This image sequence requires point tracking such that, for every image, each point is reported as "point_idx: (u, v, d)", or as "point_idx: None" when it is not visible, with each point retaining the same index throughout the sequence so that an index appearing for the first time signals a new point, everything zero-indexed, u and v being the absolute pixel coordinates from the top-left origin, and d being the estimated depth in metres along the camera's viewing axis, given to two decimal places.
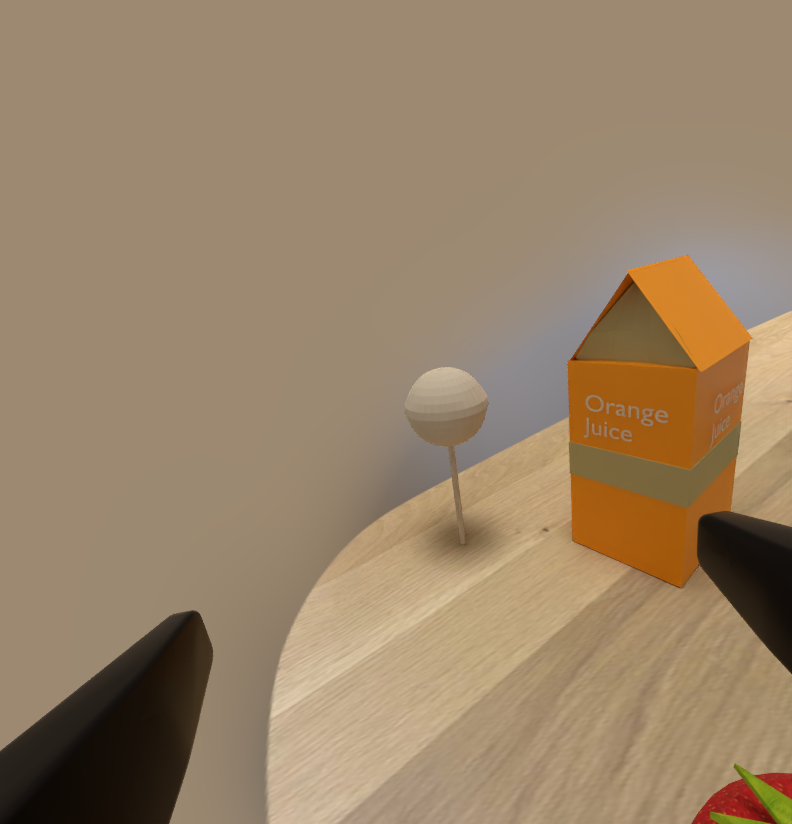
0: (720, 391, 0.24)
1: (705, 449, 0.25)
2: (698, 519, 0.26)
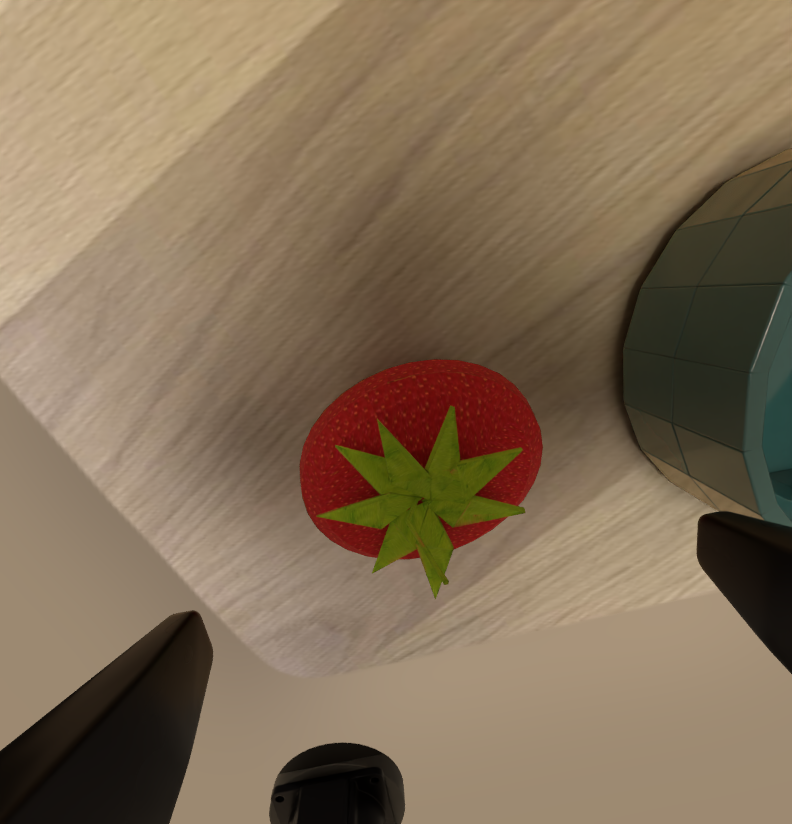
0: None
1: None
2: None
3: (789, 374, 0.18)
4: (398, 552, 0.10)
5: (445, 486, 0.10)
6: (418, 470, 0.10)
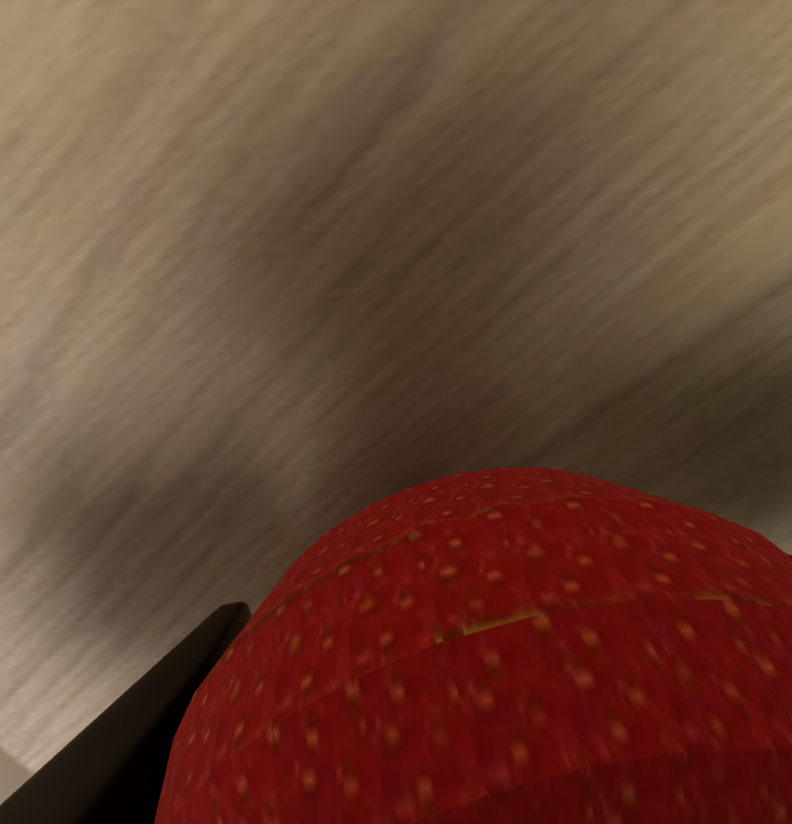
0: None
1: None
2: None
3: None
4: None
5: None
6: None
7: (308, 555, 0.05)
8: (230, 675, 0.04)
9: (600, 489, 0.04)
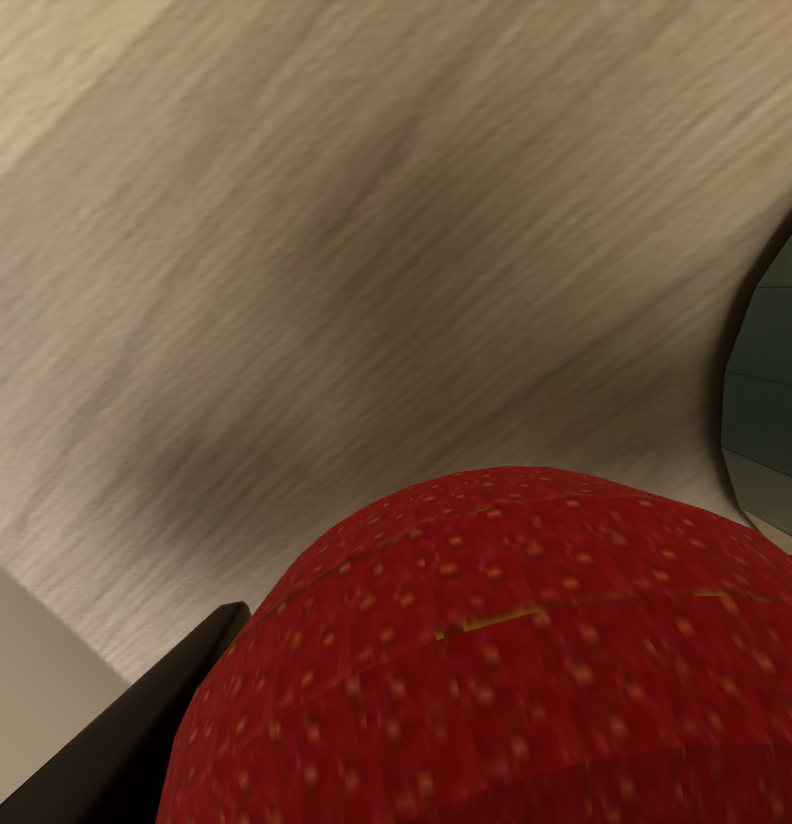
0: None
1: None
2: None
3: None
4: None
5: None
6: None
7: (309, 553, 0.05)
8: (232, 672, 0.04)
9: (600, 488, 0.04)
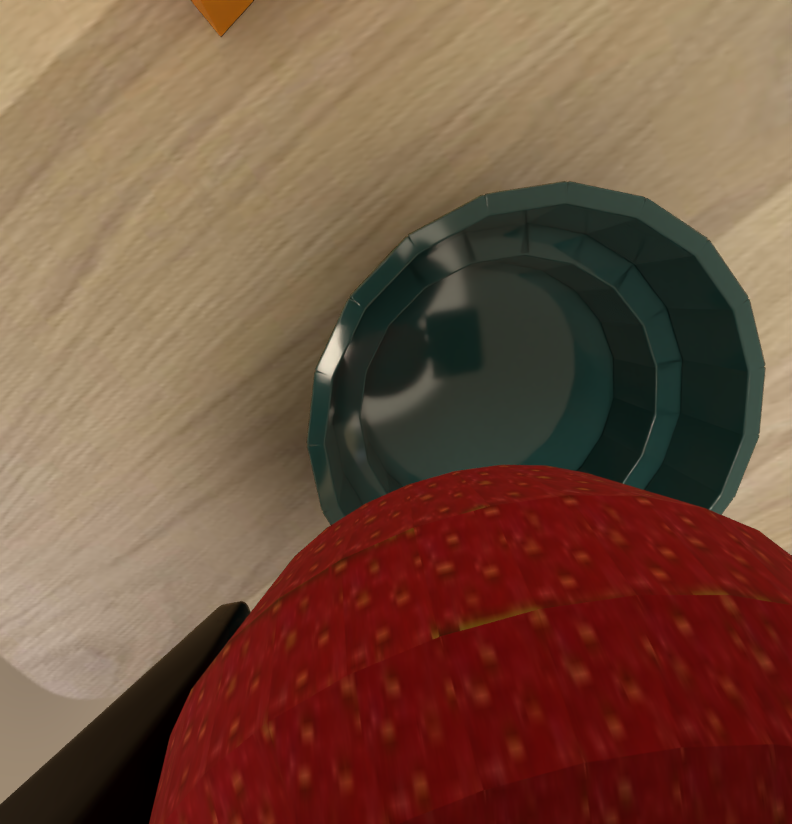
0: None
1: None
2: None
3: (490, 425, 0.19)
4: None
5: None
6: None
7: (306, 552, 0.05)
8: (226, 672, 0.04)
9: (598, 486, 0.04)
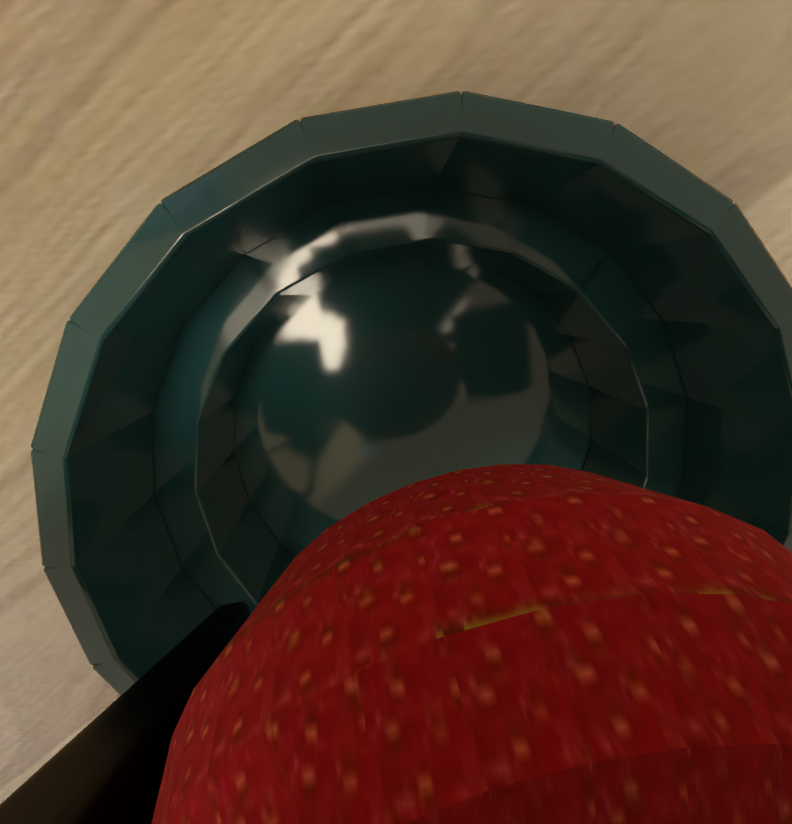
0: None
1: None
2: None
3: (419, 480, 0.14)
4: None
5: None
6: None
7: (308, 552, 0.05)
8: (229, 672, 0.04)
9: (601, 485, 0.04)
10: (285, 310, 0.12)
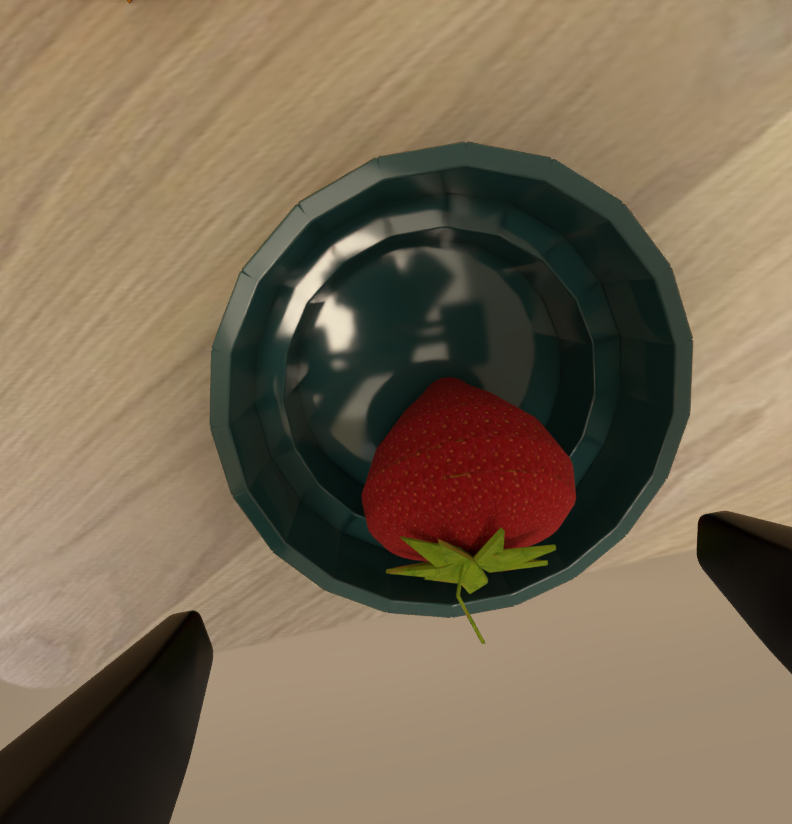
0: None
1: None
2: None
3: None
4: (445, 579, 0.14)
5: (487, 560, 0.13)
6: (468, 559, 0.12)
7: (399, 436, 0.14)
8: (386, 477, 0.13)
9: (502, 429, 0.13)
10: (338, 280, 0.17)
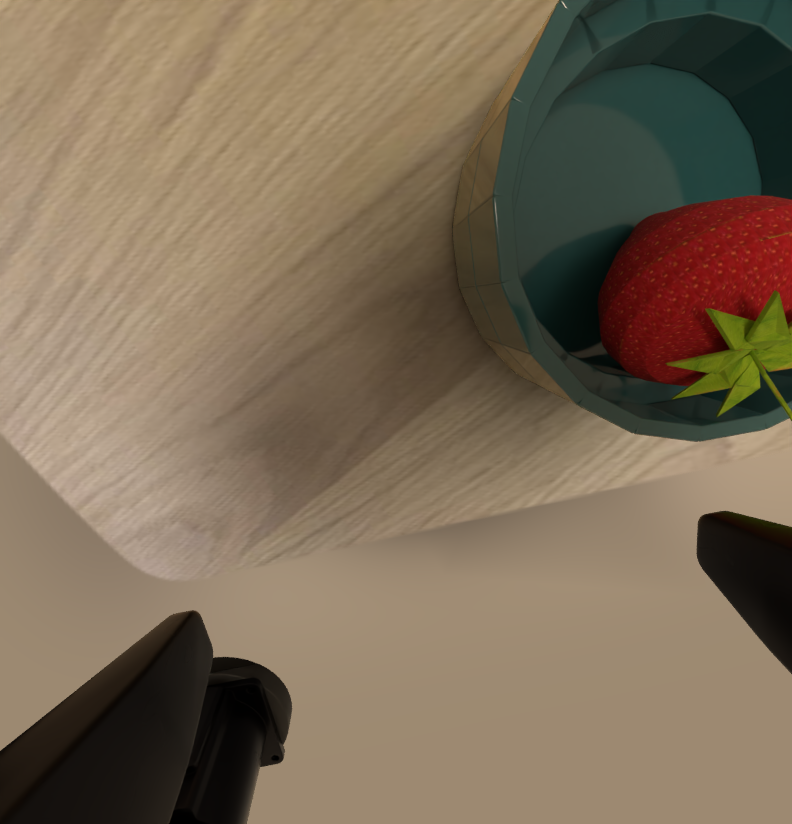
0: None
1: None
2: None
3: None
4: (710, 388, 0.13)
5: (789, 343, 0.12)
6: (780, 333, 0.11)
7: (664, 233, 0.13)
8: (668, 262, 0.12)
9: None
10: None
